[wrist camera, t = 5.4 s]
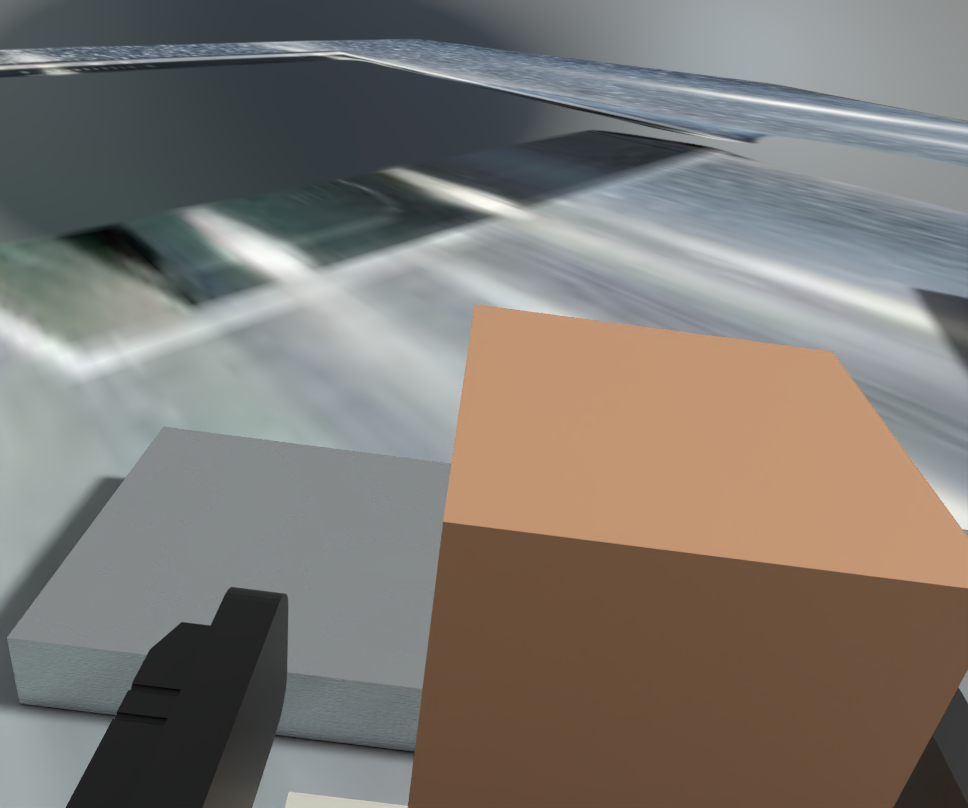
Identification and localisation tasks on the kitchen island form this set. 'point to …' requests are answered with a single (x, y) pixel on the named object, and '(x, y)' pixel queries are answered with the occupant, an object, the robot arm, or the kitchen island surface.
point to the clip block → (680, 580)
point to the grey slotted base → (254, 579)
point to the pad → (331, 802)
